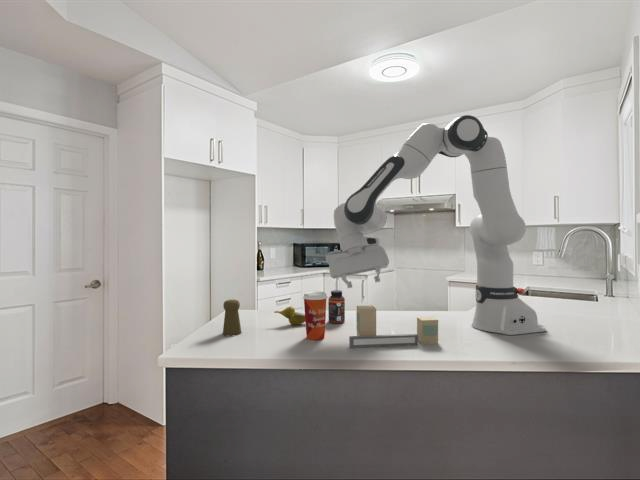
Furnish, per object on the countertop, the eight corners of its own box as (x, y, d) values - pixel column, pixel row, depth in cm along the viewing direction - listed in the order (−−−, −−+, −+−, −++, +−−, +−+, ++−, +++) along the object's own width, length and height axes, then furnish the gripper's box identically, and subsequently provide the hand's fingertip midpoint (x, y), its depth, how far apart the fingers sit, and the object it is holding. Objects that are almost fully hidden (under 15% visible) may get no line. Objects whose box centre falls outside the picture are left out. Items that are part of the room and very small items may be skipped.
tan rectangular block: (372, 336, 117) (372, 305, 117) (376, 341, 112) (376, 308, 112) (356, 337, 117) (356, 305, 116) (359, 342, 112) (359, 309, 111)
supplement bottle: (343, 324, 132) (343, 292, 132) (327, 323, 133) (326, 292, 133) (345, 320, 138) (345, 289, 138) (330, 319, 139) (329, 289, 139)
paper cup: (309, 342, 112) (309, 296, 111) (299, 336, 119) (298, 292, 118) (332, 338, 115) (332, 293, 115) (321, 332, 122) (320, 290, 122)
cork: (245, 331, 124) (244, 299, 124) (233, 336, 119) (233, 302, 118) (230, 329, 127) (229, 297, 126) (218, 334, 121) (218, 301, 121)
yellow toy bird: (274, 324, 134) (273, 306, 133) (315, 322, 136) (315, 304, 135) (274, 327, 129) (274, 308, 129) (317, 325, 131) (317, 306, 131)
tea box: (432, 339, 114) (432, 316, 114) (438, 343, 110) (438, 320, 110) (417, 339, 114) (417, 317, 113) (421, 344, 110) (421, 320, 109)
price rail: (416, 343, 110) (416, 333, 110) (418, 345, 108) (418, 335, 108) (349, 346, 108) (349, 336, 108) (350, 348, 107) (350, 337, 107)
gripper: (324, 249, 125) (333, 288, 119) (383, 237, 126) (394, 275, 121) (324, 256, 131) (333, 293, 125) (380, 244, 132) (391, 281, 127)
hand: (364, 284), depth 123 cm, fingers open, 8 cm apart
